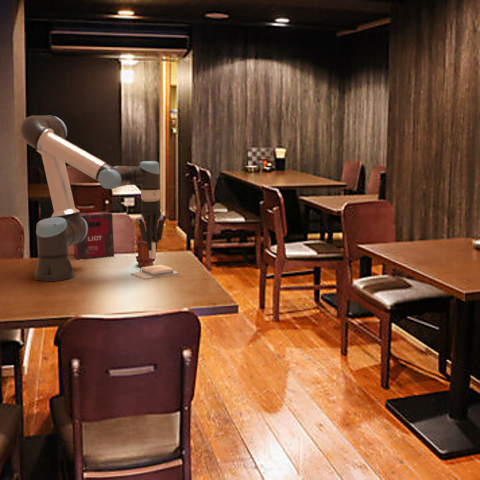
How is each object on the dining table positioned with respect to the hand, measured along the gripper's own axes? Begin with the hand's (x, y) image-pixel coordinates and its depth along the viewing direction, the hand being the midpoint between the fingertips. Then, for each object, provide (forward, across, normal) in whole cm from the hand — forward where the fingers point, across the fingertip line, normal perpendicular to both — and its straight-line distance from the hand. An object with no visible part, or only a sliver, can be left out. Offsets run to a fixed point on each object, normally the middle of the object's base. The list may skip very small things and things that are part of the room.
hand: (152, 257), depth 269 cm
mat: (+7, +1, 0) cm, 7 cm away
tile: (+5, -3, 0) cm, 6 cm away
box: (+7, -2, +50) cm, 50 cm away
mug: (+7, +7, +18) cm, 21 cm away
